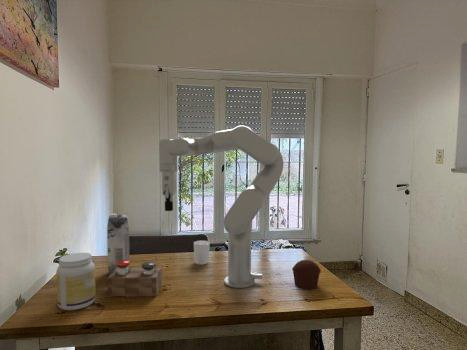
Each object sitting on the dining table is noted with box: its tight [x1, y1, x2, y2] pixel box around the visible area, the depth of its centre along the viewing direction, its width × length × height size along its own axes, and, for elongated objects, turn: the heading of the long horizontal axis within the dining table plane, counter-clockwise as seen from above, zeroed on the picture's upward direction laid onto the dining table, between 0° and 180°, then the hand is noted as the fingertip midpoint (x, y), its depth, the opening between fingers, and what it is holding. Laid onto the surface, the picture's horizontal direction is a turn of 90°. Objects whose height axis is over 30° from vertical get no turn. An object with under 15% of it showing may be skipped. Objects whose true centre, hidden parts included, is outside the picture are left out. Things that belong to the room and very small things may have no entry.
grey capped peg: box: [141, 261, 157, 274], centre depth 127 cm, size 5×5×10 cm
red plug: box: [116, 259, 131, 275], centre depth 126 cm, size 5×5×10 cm
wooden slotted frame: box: [106, 266, 163, 298], centre depth 127 cm, size 12×18×7 cm, turn 93°
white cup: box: [193, 240, 211, 266], centre depth 160 cm, size 8×8×10 cm
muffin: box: [291, 259, 322, 291], centre depth 132 cm, size 12×11×10 cm
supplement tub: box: [56, 252, 96, 311], centre depth 115 cm, size 12×12×17 cm
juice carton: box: [106, 212, 130, 276], centre depth 144 cm, size 9×10×27 cm
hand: (168, 210), depth 140 cm, fingers closed
